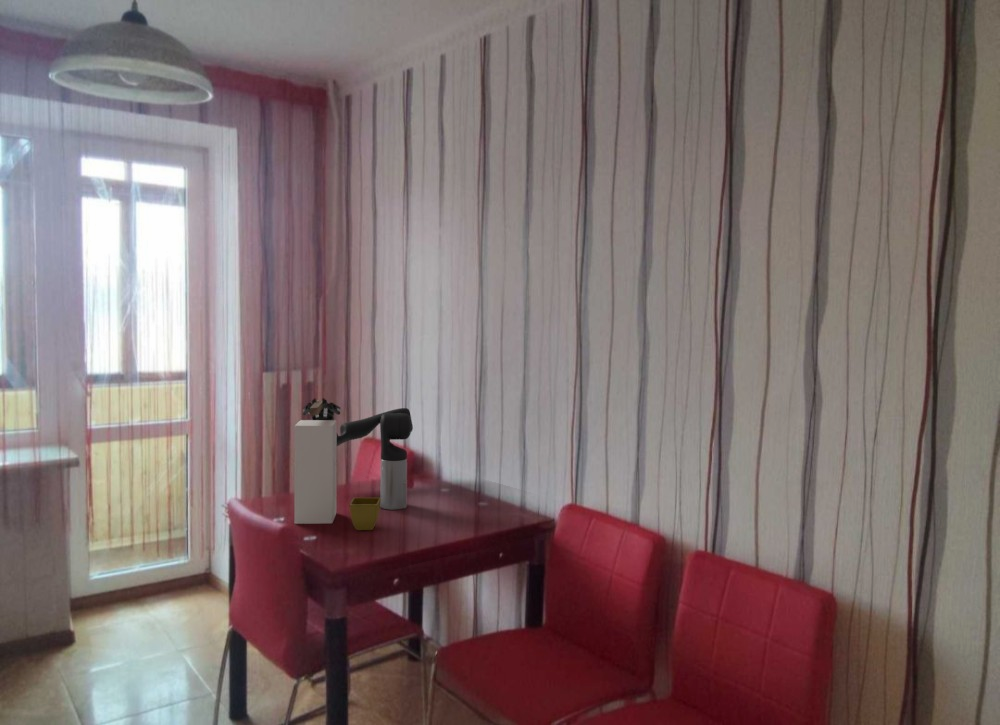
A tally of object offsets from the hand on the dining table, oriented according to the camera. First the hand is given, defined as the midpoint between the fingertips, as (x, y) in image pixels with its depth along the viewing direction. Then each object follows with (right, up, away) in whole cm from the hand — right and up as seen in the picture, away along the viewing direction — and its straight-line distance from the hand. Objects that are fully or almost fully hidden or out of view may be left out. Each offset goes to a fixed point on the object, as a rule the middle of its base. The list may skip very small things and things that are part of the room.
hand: (318, 400), depth 257 cm
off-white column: (+1, -39, -8) cm, 39 cm away
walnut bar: (+1, -3, -4) cm, 5 cm away
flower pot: (+19, -40, -18) cm, 48 cm away
